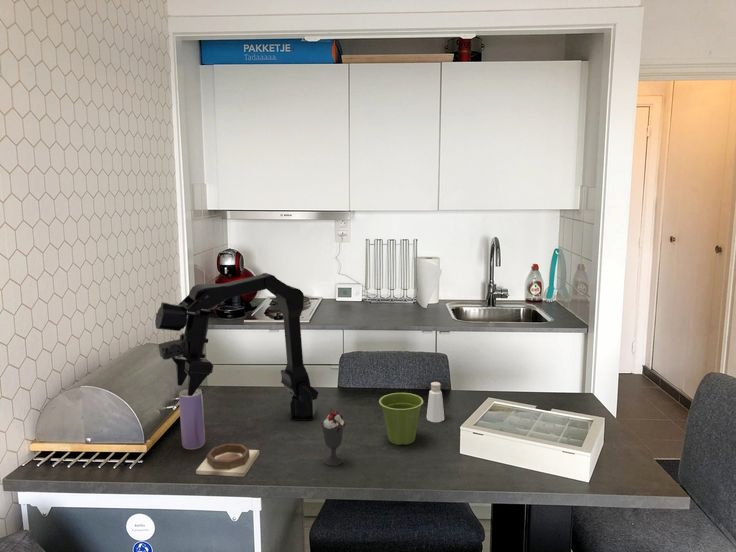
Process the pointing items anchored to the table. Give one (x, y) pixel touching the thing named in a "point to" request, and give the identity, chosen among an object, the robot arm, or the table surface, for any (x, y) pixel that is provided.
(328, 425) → the sundae
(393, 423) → the plant pot
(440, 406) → the salt shaker
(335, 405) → the table surface
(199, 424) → the beverage can
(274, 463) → the table surface
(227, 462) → the board
